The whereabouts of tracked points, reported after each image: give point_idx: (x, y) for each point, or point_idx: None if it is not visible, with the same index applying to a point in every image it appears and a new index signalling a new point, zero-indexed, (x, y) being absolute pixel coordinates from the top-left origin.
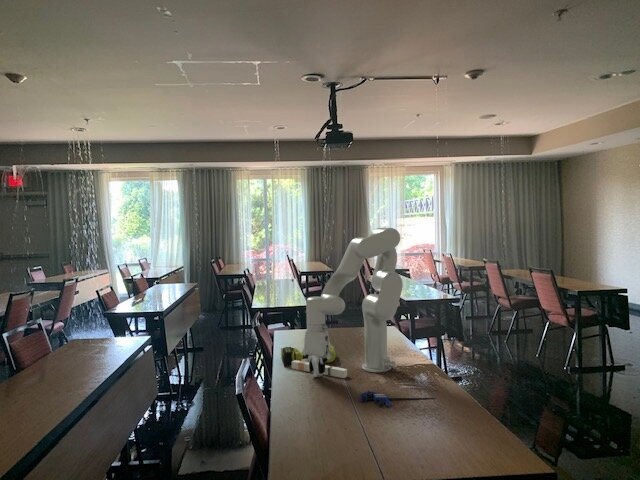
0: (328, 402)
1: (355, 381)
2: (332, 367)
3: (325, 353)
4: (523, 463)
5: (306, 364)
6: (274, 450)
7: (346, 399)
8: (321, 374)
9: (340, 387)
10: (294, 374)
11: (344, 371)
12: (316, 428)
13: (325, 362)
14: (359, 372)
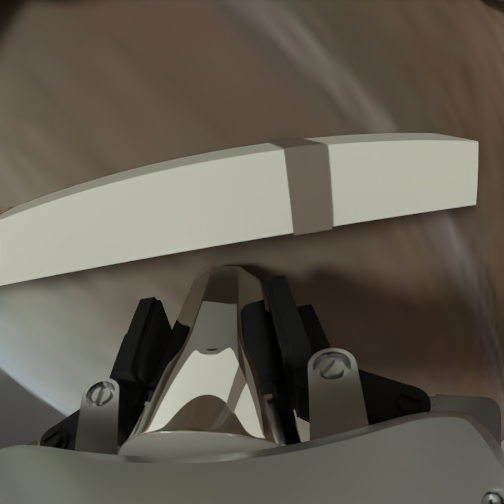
0: None
1: (499, 197)
2: (332, 179)
3: (356, 441)
4: None
5: (14, 281)
6: None
7: (486, 374)
8: (266, 299)
9: (456, 324)
10: (59, 347)
11: (471, 194)
12: None
13: (342, 360)
14: (444, 9)
